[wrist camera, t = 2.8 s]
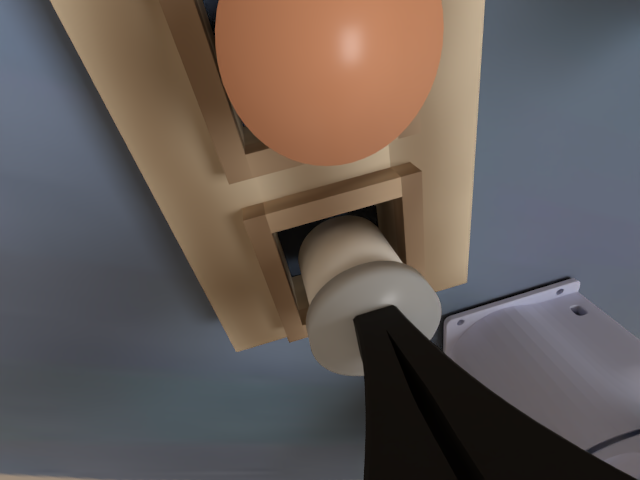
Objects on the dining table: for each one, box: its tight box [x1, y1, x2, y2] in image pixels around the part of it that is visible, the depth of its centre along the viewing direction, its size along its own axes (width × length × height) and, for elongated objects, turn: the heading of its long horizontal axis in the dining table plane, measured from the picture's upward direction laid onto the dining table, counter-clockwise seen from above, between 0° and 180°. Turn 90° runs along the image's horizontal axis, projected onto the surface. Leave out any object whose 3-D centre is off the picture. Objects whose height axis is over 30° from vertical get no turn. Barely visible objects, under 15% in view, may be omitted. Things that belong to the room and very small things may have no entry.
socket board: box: [50, 0, 485, 352], centre depth 13 cm, size 12×16×4 cm
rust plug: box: [215, 0, 444, 166], centre depth 8 cm, size 4×4×4 cm
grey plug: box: [298, 215, 441, 376], centre depth 13 cm, size 4×4×4 cm
